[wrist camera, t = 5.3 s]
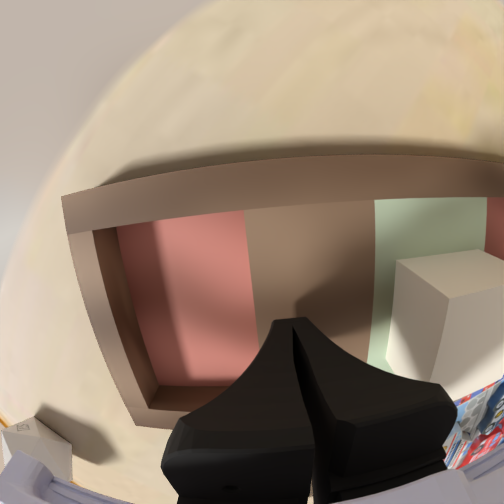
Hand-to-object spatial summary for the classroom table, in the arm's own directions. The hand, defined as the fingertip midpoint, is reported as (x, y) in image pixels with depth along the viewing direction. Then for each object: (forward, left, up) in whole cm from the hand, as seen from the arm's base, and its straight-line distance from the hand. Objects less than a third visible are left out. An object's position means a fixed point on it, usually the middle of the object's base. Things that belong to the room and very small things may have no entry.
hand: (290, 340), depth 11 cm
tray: (0, -4, -3) cm, 6 cm away
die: (-15, +25, -4) cm, 29 cm away
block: (0, -7, -1) cm, 7 cm away
